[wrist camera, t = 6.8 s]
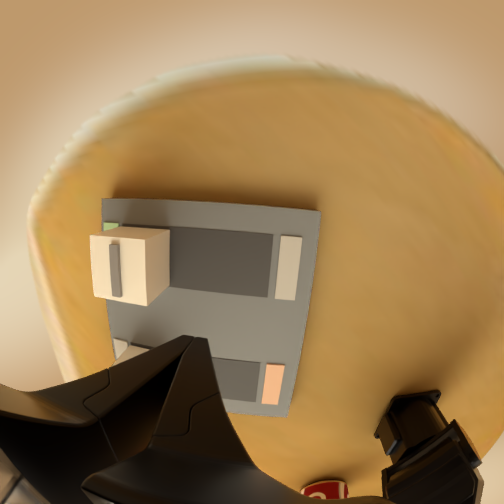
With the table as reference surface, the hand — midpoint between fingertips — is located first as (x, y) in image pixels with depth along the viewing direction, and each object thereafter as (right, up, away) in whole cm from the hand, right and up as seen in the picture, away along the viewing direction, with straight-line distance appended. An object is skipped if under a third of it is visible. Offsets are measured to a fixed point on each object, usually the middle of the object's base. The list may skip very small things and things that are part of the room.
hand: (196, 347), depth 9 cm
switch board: (-2, -2, +13) cm, 13 cm away
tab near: (-6, +3, +10) cm, 12 cm away
